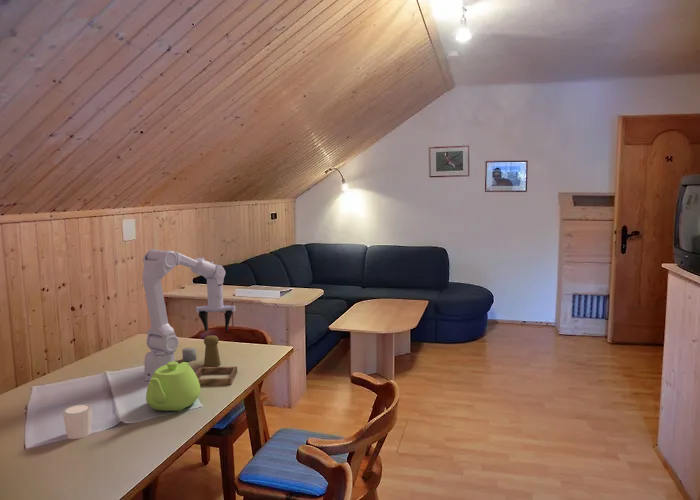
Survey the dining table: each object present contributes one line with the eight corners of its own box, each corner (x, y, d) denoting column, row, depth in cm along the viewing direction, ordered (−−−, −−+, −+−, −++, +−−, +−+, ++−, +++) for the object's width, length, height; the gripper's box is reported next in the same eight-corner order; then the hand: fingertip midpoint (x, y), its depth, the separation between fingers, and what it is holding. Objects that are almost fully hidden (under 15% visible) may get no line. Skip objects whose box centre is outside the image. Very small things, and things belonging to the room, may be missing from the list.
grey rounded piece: (181, 362, 194) (180, 351, 194) (184, 357, 199) (184, 347, 199) (194, 361, 195) (194, 351, 194) (197, 357, 200) (197, 347, 199)
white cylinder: (86, 425, 143) (84, 401, 142) (98, 432, 138) (96, 407, 138) (60, 435, 137) (58, 409, 137) (71, 442, 133) (69, 416, 132)
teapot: (178, 424, 143) (175, 378, 141) (128, 420, 145) (125, 376, 144) (211, 393, 165) (209, 353, 163) (167, 390, 167) (165, 351, 165)
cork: (218, 367, 187) (216, 338, 186) (201, 367, 188) (200, 338, 186) (222, 362, 193) (221, 333, 192) (206, 362, 194) (205, 333, 192)
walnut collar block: (191, 385, 171) (191, 380, 170) (200, 372, 182) (199, 367, 182) (231, 384, 171) (231, 378, 171) (237, 371, 183) (237, 366, 183)
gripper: (236, 292, 202) (237, 326, 203) (198, 293, 201) (200, 327, 203) (233, 296, 195) (234, 331, 196) (194, 297, 194) (195, 332, 196)
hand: (216, 330), depth 199 cm, fingers open, 7 cm apart
